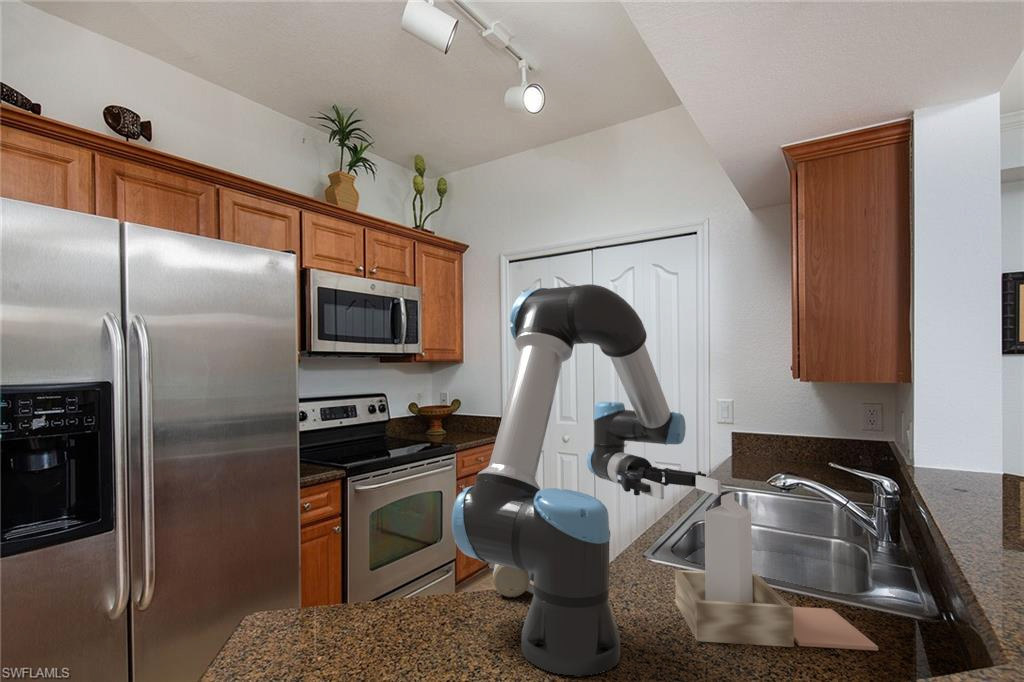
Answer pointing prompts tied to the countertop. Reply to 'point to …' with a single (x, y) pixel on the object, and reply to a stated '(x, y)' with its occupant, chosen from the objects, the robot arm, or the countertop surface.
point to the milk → (728, 552)
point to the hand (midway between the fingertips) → (691, 490)
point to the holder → (734, 613)
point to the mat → (827, 630)
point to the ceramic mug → (512, 580)
